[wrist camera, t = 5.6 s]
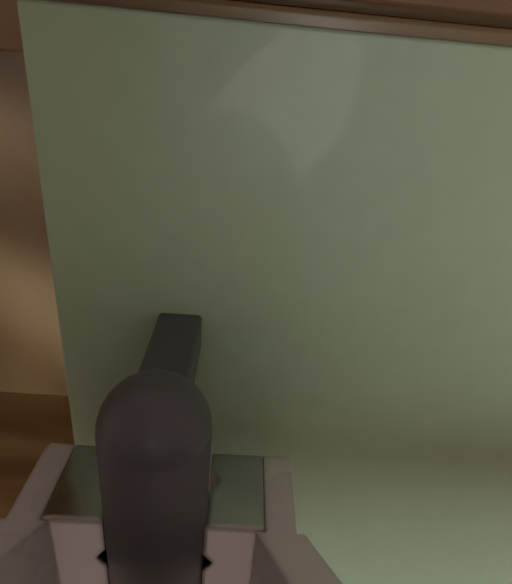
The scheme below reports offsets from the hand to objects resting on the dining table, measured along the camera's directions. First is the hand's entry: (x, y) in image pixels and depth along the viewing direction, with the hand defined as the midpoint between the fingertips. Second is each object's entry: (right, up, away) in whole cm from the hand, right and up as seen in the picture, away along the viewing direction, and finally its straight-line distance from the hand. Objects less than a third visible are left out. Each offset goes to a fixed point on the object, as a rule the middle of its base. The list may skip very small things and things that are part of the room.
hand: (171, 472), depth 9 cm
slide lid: (+6, 0, +2) cm, 6 cm away
